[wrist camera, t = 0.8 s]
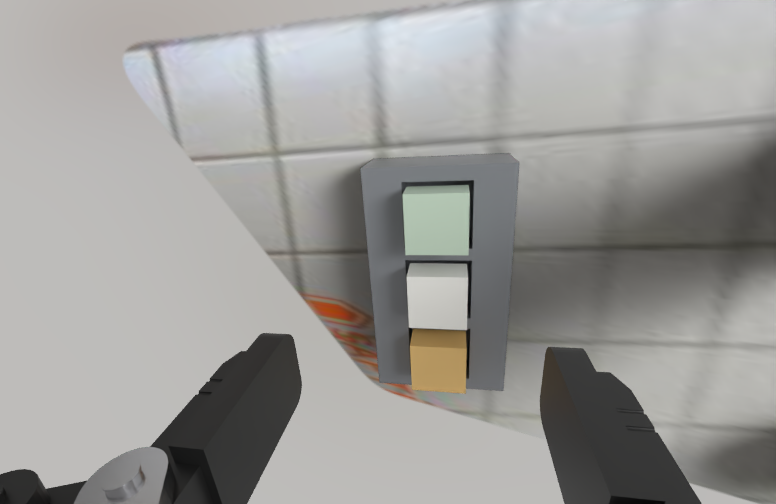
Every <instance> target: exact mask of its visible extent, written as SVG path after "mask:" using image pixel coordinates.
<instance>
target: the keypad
mask: <svg viewBox="0 0 776 504" xmlns="http://www.w3.org/2000/svg"><path fill="white" fill-rule="evenodd" d="M360 170H361V182H362V193H363V204H364V215H365V226H366V237H367V248H368V259H369V270H370V281H371V293H372V304H373V315H374V326H375V337H376V348H377V359H378V370H379V381H380V383H395V384H409V385H412V379H411V359H410V343H411V337H412V332H413V329H426V328H409V318H408V297H407V273H408V269H409V266H410V263H445V264H467V271H468V304H467V330H459V331H466V347H467V353H466V388H467V389H482V390H496V391H503V389H504V375H505V361H506V346H507V332H508V318H509V303H510V289H511V275H512V260H513V246H514V232H515V217H516V203H517V189H518V174H519V162H518V161H517V160H516V159H515V158H514V157H513V156H512V155H511V154H510V153H499V154H475V155H451V156H428V157H404V158H380V159H373V160H371V161H370V162H369V163H367V164H366V165H364V166H363V167H362V168H360ZM446 185H469V191H470V208H469V255H405V236H404V215H403V195H402V194H403V193H404V191H405V189H406V187H409V186H446ZM435 330H450V329H435Z"/></svg>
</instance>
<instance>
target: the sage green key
mask: <svg viewBox="0 0 776 504" xmlns="http://www.w3.org/2000/svg"><path fill="white" fill-rule="evenodd" d="M402 195H403V215H404V236H405V255H469V208H470V191H469V185H446V186H409V187H406V189H405V191H404V193H403V194H402Z"/></svg>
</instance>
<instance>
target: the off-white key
mask: <svg viewBox="0 0 776 504" xmlns="http://www.w3.org/2000/svg"><path fill="white" fill-rule="evenodd" d="M407 297H408V318H409V328H426V329H450V330H467V304H468V271H467V264H445V263H410V266H409V269H408V273H407Z"/></svg>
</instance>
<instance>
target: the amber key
mask: <svg viewBox="0 0 776 504" xmlns="http://www.w3.org/2000/svg"><path fill="white" fill-rule="evenodd" d="M466 353H467V347H466V331H459V330H435V329H413V332H412V337H411V343H410V359H411V379H412V390H424V391H438V392H451V393H465V394H466Z"/></svg>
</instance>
